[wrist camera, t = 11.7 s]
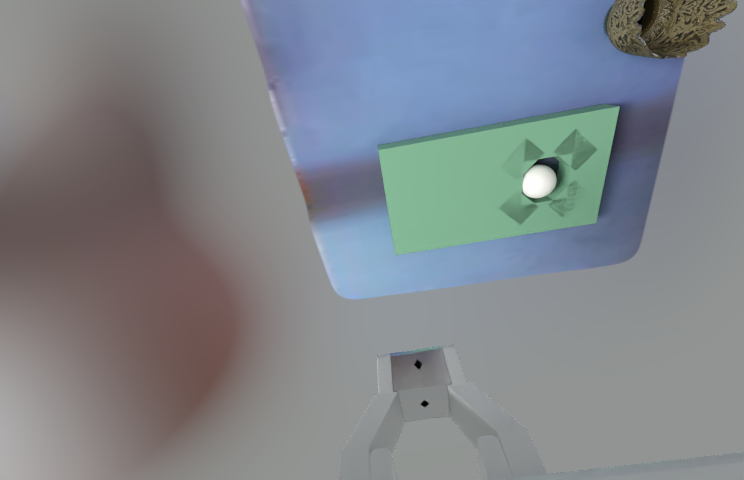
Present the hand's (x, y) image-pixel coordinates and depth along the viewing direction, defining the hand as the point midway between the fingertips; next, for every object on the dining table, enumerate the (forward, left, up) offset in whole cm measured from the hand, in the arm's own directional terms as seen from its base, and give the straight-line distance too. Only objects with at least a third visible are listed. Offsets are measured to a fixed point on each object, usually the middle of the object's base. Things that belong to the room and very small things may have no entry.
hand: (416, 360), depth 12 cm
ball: (+5, +18, -27) cm, 33 cm away
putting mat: (+5, +13, -29) cm, 32 cm away
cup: (-10, +26, -29) cm, 40 cm away
